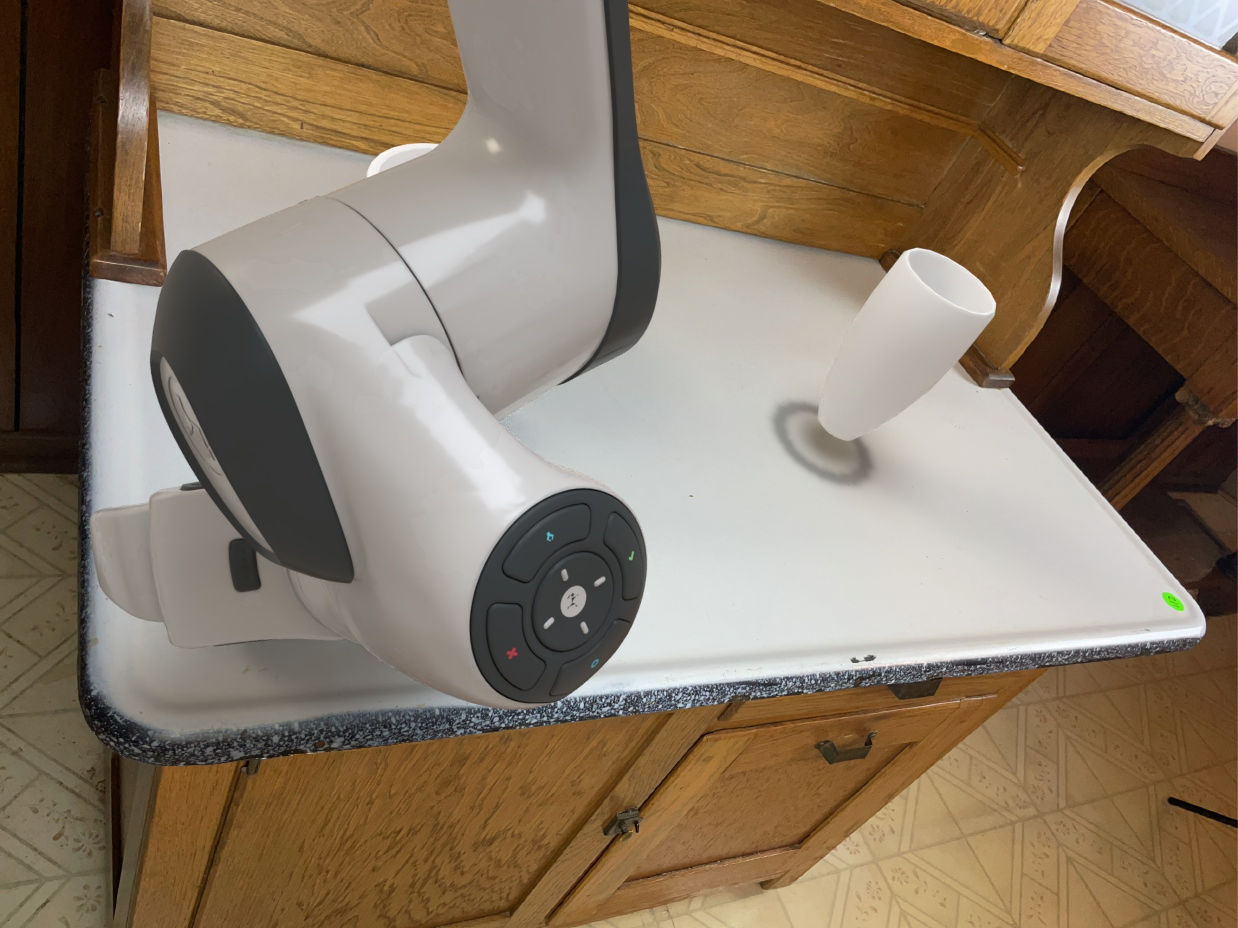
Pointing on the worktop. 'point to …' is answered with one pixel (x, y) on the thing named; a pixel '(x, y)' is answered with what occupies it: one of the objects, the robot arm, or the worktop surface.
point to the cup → (903, 342)
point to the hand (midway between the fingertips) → (282, 504)
